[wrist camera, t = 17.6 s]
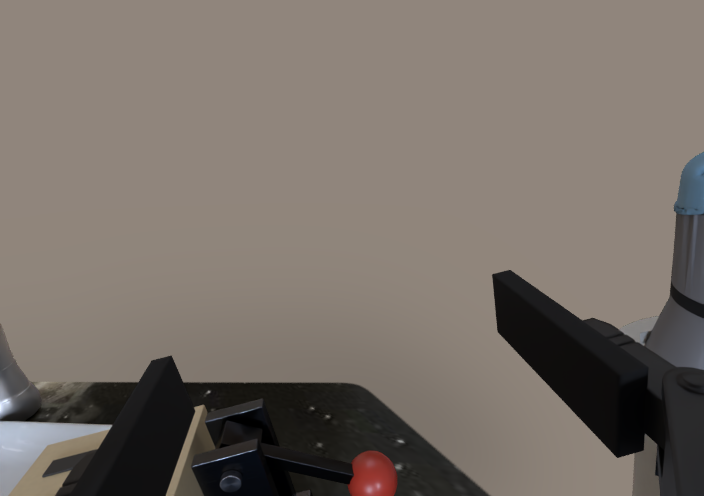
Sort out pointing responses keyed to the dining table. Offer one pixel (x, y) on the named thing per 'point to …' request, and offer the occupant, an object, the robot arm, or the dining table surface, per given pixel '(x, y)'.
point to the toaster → (60, 458)
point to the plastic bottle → (15, 388)
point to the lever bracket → (241, 458)
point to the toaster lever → (321, 463)
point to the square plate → (32, 445)
